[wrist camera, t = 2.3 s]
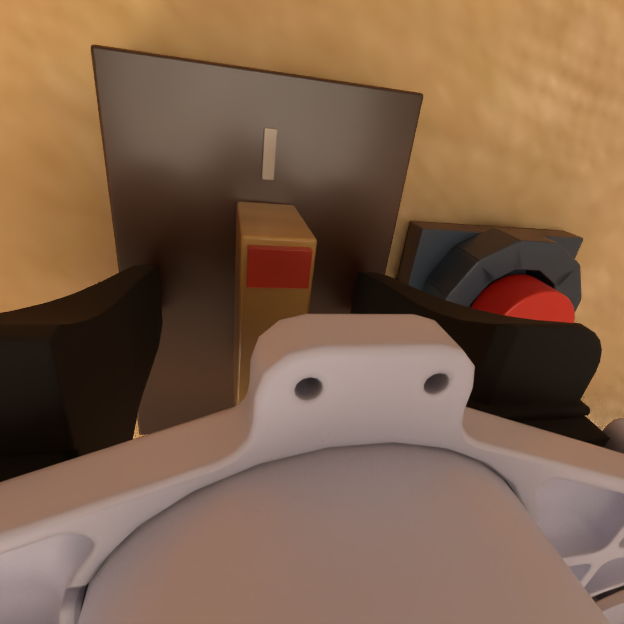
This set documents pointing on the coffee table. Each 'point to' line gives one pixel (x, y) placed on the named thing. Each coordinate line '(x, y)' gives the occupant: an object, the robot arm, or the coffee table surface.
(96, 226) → the coffee table surface
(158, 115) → the dial panel
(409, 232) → the button block
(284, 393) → the robot arm
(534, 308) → the button
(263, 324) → the red label carton
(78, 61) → the coffee table surface
